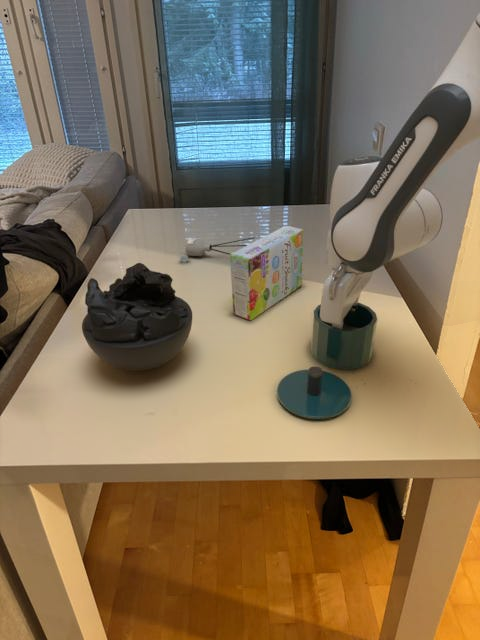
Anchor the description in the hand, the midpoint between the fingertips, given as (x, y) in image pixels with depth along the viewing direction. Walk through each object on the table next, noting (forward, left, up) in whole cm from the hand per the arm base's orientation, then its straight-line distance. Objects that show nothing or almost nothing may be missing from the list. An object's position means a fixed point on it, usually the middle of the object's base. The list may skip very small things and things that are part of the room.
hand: (344, 321), depth 88 cm
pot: (0, 0, -7) cm, 7 cm away
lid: (0, +15, -7) cm, 16 cm away
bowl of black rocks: (+33, +20, -7) cm, 39 cm away
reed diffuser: (+45, -28, -7) cm, 54 cm away
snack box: (+22, -13, -7) cm, 27 cm away
